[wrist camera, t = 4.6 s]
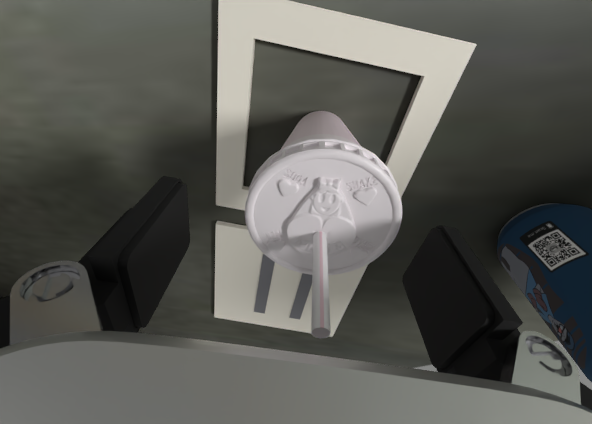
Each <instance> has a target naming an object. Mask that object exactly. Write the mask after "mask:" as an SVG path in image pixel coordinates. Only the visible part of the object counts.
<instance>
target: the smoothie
mask: <svg viewBox="0 0 592 424" xmlns="http://www.w3.org/2000/svg"><path fill="white" fill-rule="evenodd" d="M245 221H246V226H247V229H248V232H249V234H250V236H251V238H252V240H253V241H254V243H255V244H256V246H257V247H258V248H259V249H260V250H261V251H262V252H263V253H264V254H265V255H266V256H267V257H268V258H270V259H271V260H272V261H274V262H276V263H277V264H279V265H281V266H283V267H285V268H287V269H290V270H293V271H296V272H299V273H304V274H310V275H312V319H311V334H312V335H313V336H314V337H317V338H326V337H328V336H330V334H331V327H330V303H329V279H328V275H336V274H342V273H346V272H350V271H353V270H356V269H359V268H361V267H363V266H365V265H367V264H369V263H371V262H372V261H374V260H375V259H377V258H378V257H379V256H380V255H382V254H383V253H384V252H385V251H386V250H387V249H388V248H389V246H390V245H391V244H392V242H393V241H394V239H395V237H396V236H397V233H398V231H399V229H400V225H401V221H402V202H401V198H400V195H399V192H398V188H397V184H396V182H395V180H394V178H393V176H392V174H391V172H390V170H389V168H388V167H387V166H386V165H385V164H384V163H383V162H382V161H381V160H380V159H379V158H378V157H377V156H376V155H375V154H374V153H372V152H370V151H368V150H367V149H365V148H363V147H361V145H360V144H359V143H358V141H357V140H356V139H355V138H354V136H353V135H352V134H351V132H350V131H349V130H348V128H347V127H346V126H345V124H344V123H343V122H342V120H341V119H340V118H339V117H338V116H336V115H335V114H333V113H330V112H327V111H315V112H311V113H309V114H307V115H305V116H304V117H303V118H302V119H301V120H300V121H299V122H298V124H297V125H296V127H295V128H294V130H293V131H292V133H291V134H290V136H289V137H288V139H287V140H286V142H285V143H284V145H283V146H282V148H281V149H280V151H278V152H276V153H275V154H273V155H271V156H270V157H269V158H268V159H267V160H266V161H265V162H264V163H263V165H262V166H261V167H260V168H259V169H258V170H257V171H256V174H255V176H254V178H253V180H252V182H251V184H250V186H249V193H248V196H247V200H246V204H245Z"/></svg>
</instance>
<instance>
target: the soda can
mask: <svg viewBox="0 0 592 424" xmlns="http://www.w3.org/2000/svg"><path fill="white" fill-rule="evenodd" d="M497 256H498V259H499V261H500V263H501V264H502V266H503V267H504V268H505V270H506V271H507V272H508V274H509V275H510V276H511V278H512V279H513V280H514V282H515V283H516V284H517V286H518V287H519V288H520V290H521V291H522V292H523V293H524V295H525V296H526V297H527V299H528V300H529V301H530V303H531V304H532V305H533V307H534V308H535V309H536V311H537V312H538V313H539V315H540V316H541V317H542V319H543V320H544V321H545V323H546V324H547V325H548V327H549V328H550V329H551V331H552V332H553V333H554V335H555V336H556V337H557V339H558V340H559V341H560V343H561V344H562V345H563V347H564V348H565V349H566V350H567V352H568V353H569V354H570V356H571V357H572V358H573V360H574V361H575V362H576V364H577V365H578V366H579V368H580V369H581V370H582V372H583V373H584V374H585V376H586V377H587V378H588V379H589V380H590V381H591V382H592V209H590V208H587V207H583V206H579V205H571V204H559V203H548V204H541V205H537V206H534V207H531V208H528V209H526V210H524V211H522V212H520V213H518V214H517V215H515V216H514V217H512V218H511V219H510V220H509V221H508V222H507V223H506V224H505V225H504V226H503V228H502V229H501V231H500V233H499V236H498V243H497Z"/></svg>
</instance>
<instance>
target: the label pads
mask: <svg viewBox="0 0 592 424" xmlns="http://www.w3.org/2000/svg"><path fill="white" fill-rule="evenodd" d="M255 39H259V40H263V41H268V42H272V43H277V44H281V45H286V46H290V47H295V48H299V49H304V50H308V51H313V52H317V53H322V54H326V55H331V56H335V57H340V58H344V59H349V60H353V61H358V62H362V63H367V64H371V65H376V66H380V67H385V68H389V69H394V70H398V71H403V72H407V73H412V74H416V75H421V78H420V80H419V83H418V85H417V88H416V90H415V93H414V95H413V97H412V100H411V102H410V105H409V107H408V109H407V112H406V114H405V117H404V119H403V121H402V124H401V126H400V129H399V131H398V134H397V136H396V138H395V141H394V143H393V146H392V148H391V150H390V153H389V155H388V158H387V160H386V162H385V165H386V166H387V167H388V168H389V170H390V172H391V174H392V176H393V178H394V180H395V182H396V184H397V188H398V192H399V195H400V198H401V197H402V195H403V193H404V191H405V189H406V187H407V185H408V183H409V181H410V179H411V176H412V174H413V172H414V170H415V168H416V166H417V164H418V162H419V160H420V158H421V156H422V154H423V152H424V150H425V148H426V146H427V144H428V142H429V140H430V138H431V136H432V134H433V132H434V130H435V128H436V126H437V124H438V122H439V120H440V118H441V116H442V114H443V112H444V110H445V108H446V105H447V103H448V101H449V99H450V97H451V95H452V93H453V91H454V89H455V87H456V85H457V83H458V81H459V79H460V77H461V75H462V73H463V71H464V69H465V67H466V65H467V63H468V61H469V59H470V57H471V55H472V53H473V51H474V49H475V47H476V45H477V44H474V43H470V42H465V41H461V40H457V39H453V38H448V37H444V36H440V35H435V34H431V33H427V32H422V31H418V30H414V29H409V28H405V27H401V26H396V25H392V24H388V23H383V22H379V21H375V20H371V19H366V18H362V17H358V16H353V15H349V14H345V13H340V12H336V11H332V10H327V9H323V8H319V7H314V6H310V5H306V4H301V3H297V2H293V1H289V0H219V7H218V82H217V157H216V205H218V206H223V207H228V208H234V209H239V210H244V211H245V204H246V200H247V196H248V193H249V187H247V186H243V184H244V172H245V160H246V147H247V135H248V123H249V111H250V98H251V86H252V74H253V62H254V50H255ZM367 266H368V264H367V265H365V266H363V267H361V268H359V269H356V270H353V271H350V272H346V273H342V274H336V275H328V279H329V303H330V327H331V334H330V337H333V335H334V333H335V331H336V329H337V327H338V325H339V323H340V321H341V318H342V316H343V314H344V312H345V310H346V308H347V306H348V304H349V302H350V300H351V298H352V296H353V294H354V292H355V290H356V288H357V286H358V284H359V282H360V280H361V278H362V276H363V274H364V272H365V270H366V268H367ZM214 317H216V318H222V319H228V320H234V321H240V322H246V323H252V324H258V325H264V326H270V327H276V328H282V329H288V330H294V331H300V332H306V333H311V319H312V275H310V274H304V273H299V272H296V271H293V270H290V269H287V268H285V267H283V266H281V265H279V264H277V263H276V262H274V261H272V260H271V259H270V258H268V257H267V256H266V255H265V254H264V253H263V252H262V251H261V250H260V249H259V248H258V247H257V246H256V244H255V243H254V241H253V240H252V238H251V236H250V234H249V232H248V229H247V226H244V225H239V224H233V223H228V222H223V221H217V222H216V232H215V307H214Z"/></svg>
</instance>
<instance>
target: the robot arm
mask: <svg viewBox="0 0 592 424" xmlns="http://www.w3.org/2000/svg"><path fill="white" fill-rule="evenodd" d="M189 243H190V233H189V216H188V198H187V186H186V184H183V183H182V181H181V179H177V178H172V177H166V176H163V177H162V178H161V179H160V180H159V181H158V182H157V183H156V184H155V185H154V186H153V187H152V188H151V189H150V190H149V191H148V192H147V194H146V195H145V196H144V197H143V198H142V199H141V200H140V201H139V202H138V203H137V204H136V205H135V206H134V207H133V208H130V209H129V210H128V211H127V212H126V213H125V214H124V215H123V216H122V217H121V218H120V219H119V220H118V221H117V222H116V223H115V224H114V225H113V226H112V227H111V228H110V229H109V230H108V231H107V232H106V234H105V235H104V236H103V237H102V238H101V239H100V240H99V241H98V242H97V243H96V244H95V245H94V246H93V247H92V248H91V249H90V250H89V251H88V252H87V253H86V254H85V256H84V257H83V258H82V259H81V260H80V261H79V262H73V261H57V262H51V263H47V264H44V265H41V266H39V267H36V268H35V269H33V270H31V271H29V272H27V273H26V274H24V275H23V276H22V277H21V278H19V279H18V280H17V282H16V283H15V284H14V286H13V287H12V290H11V293H10V296H8V297H5V298H2V299H0V424H592V390H591V389H589V388H588V387H586V386H585V385H583V384H582V383H581V382H580V377H579V372H578V368H577V366H576V365H575V363H574V361H573V360H572V358H571V357H570V356H569V355H568V354H567V352H565V351H564V350H563V349H562V348H561V347H560V346H559V345H558V344H556V343H555V342H554V341H552V340H551V339H549V338H548V337H546V336H544V335H542V334H540V333H537V332H534V331H524V332H522V333H521V334H520V332H519V331H518V329H517V328H518V327H519V326H520V325H521V324H522V323H523V322H522V321H521V319H520V318H519V317H518V315H517V314H516V312H515V311H514V309H513V308H512V307H511V305H510V304H509V302H508V301H507V300H506V298H505V297H504V295H503V294H502V292H501V291H500V290H499V288H498V287H497V285H496V284H495V283H494V281H493V280H492V278H491V277H490V275H489V274H488V273H487V271H486V270H485V268H484V267H483V266H482V264H481V263H480V261H479V260H478V258H477V257H476V256H475V254H474V253H473V251H472V250H471V249H470V247H469V246H468V244H467V243H466V241H465V240H464V239H463V237H462V236H461V234H460V233H459V232H458V230H457V229H456V228H452V227H446V226H441V225H440V226H437V227H436V228H433V229H432V230H431V231H430V233H429V234H428V236H427V238H426V239H425V241H424V242H423V244H422V246H421V247H420V249H419V251H418V252H417V254H416V255H415V257H414V259H413V260H412V262H411V264H410V265H409V267H408V268H407V270H406V272H405V273H404V275H403V284H404V287H405V290H406V293H407V295H408V298H409V301H410V304H411V307H412V310H413V312H414V315H415V318H416V321H417V324H418V326H419V329H420V332H421V335H422V338H423V340H424V343H425V346H426V349H427V352H428V354H429V357H430V360H431V363H432V365H433V366H434V367H435V368H437V371H438V372H434V371H427V370H420V369H413V368H406V367H399V366H392V365H385V364H377V363H370V362H363V361H356V360H348V359H341V358H334V357H326V356H319V355H312V354H304V353H297V352H289V351H282V350H274V349H267V348H259V347H251V346H244V345H236V344H228V343H221V342H213V341H206V340H198V339H189V338H180V337H171V336H163V335H154V334H145V333H137V332H138V331H139V329H140V327H143V328H144V327H146V326H147V324H148V322H149V321H150V319H151V317H152V315H153V313H154V311H155V309H156V307H157V306H158V304H159V302H160V300H161V298H162V296H163V294H164V292H165V291H166V289H167V287H168V285H169V283H170V281H171V279H172V277H173V275H174V274H175V272H176V270H177V268H178V266H179V264H180V262H181V260H182V259H183V257H184V255H185V253H186V251H187V249H188V247H189Z"/></svg>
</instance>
